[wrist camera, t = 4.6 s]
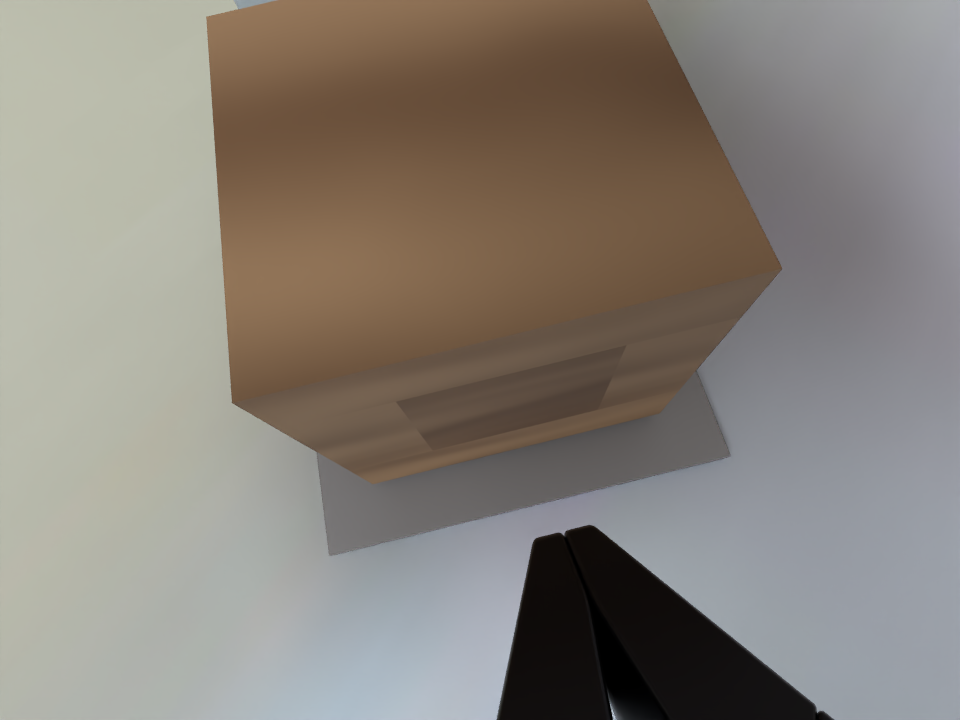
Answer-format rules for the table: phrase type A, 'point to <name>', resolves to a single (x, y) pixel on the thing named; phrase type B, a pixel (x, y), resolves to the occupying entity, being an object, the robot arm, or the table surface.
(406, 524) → the gray angle bracket
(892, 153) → the table surface
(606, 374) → the walnut block
